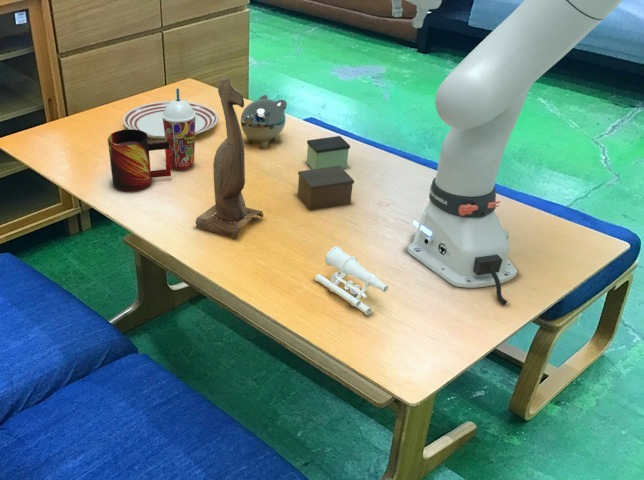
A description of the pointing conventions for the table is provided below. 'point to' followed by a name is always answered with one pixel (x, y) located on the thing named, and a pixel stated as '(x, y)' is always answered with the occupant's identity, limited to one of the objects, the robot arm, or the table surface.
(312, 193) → the walnut box
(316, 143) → the green lidded box
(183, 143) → the smoothie
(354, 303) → the white tapered barrel part
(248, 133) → the piggy bank
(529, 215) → the table surface
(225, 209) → the bird sculpture
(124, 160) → the mug
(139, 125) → the dinner plate
